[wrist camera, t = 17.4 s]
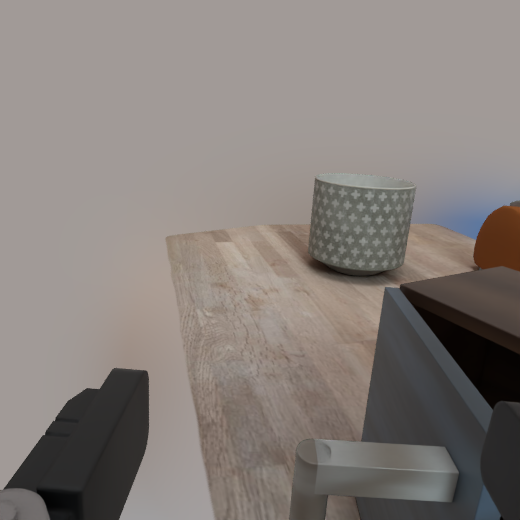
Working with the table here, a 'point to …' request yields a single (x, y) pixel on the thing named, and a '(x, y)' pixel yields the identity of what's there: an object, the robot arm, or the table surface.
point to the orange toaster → (499, 239)
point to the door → (404, 435)
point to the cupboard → (476, 326)
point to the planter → (360, 222)
